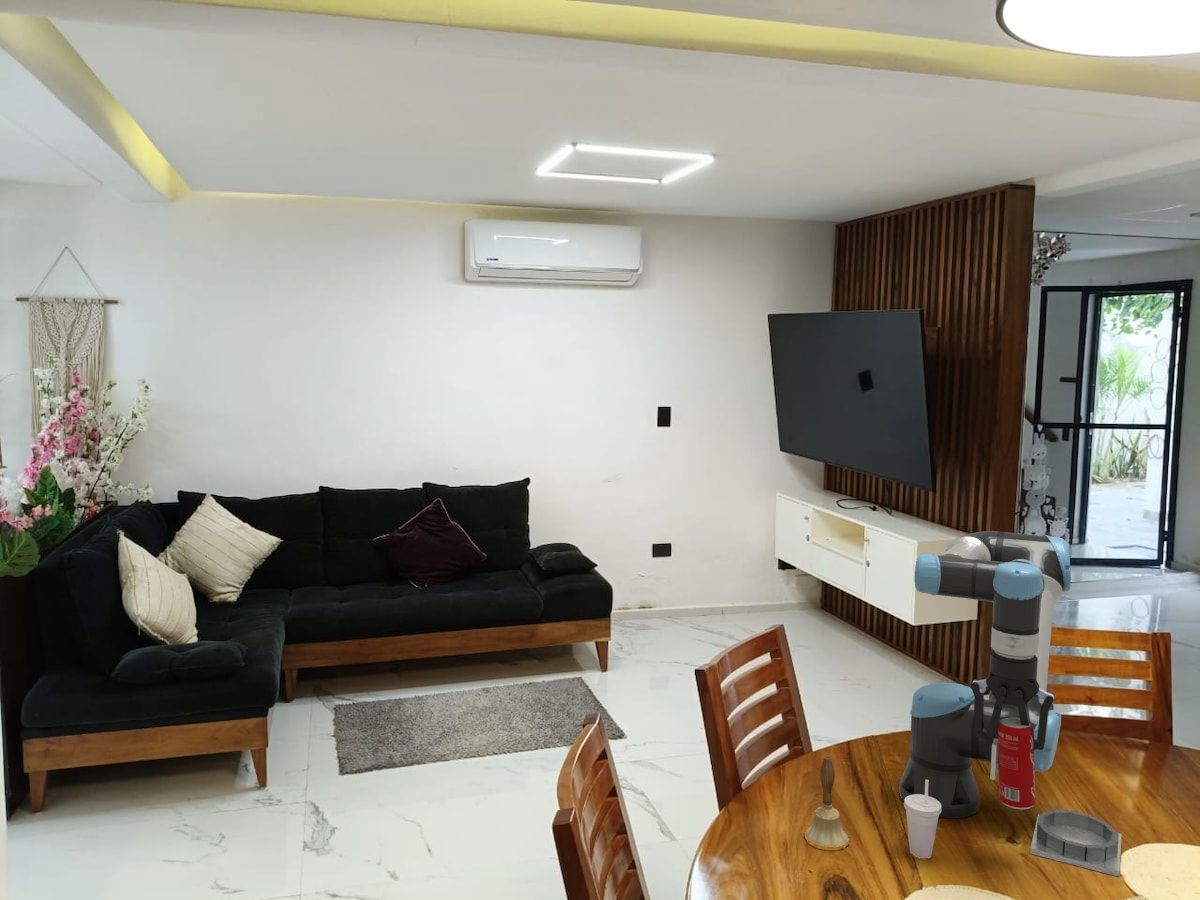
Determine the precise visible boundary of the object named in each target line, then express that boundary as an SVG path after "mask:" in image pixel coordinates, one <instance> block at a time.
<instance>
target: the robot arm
mask: <svg viewBox="0 0 1200 900" xmlns="http://www.w3.org/2000/svg"><path fill="white" fill-rule="evenodd" d="M1070 557H1071V556H1070V550H1069V545H1068V542H1067V541H1066V540H1065V539H1063V538H1061V537H1058V536H1051V535H1047V534H1043V535H1036V534H1027V533H1026V534H1025V533H1018V532H1007V531H1006V532H1005V531H998V530H997V531H995V530H987V531H986V530H985V531H977V532H972V533H968V534H964V535H960V536H959V537H956V538H955V539H953V540H952V541H950V542H949V543H948V545H947V546H946V547H945V550H944V552H943V553H942V554H940V555H939V554H935V553H932V554H928V553H927V554H925V553H923V554H920V555H918V556H917V558H916V561H915V566H914V567H915V568H914V578H913V579H914V581H913V582H914V588H915V590H916V591H917V592H918V593H920V594H928V595H931V596H944V597H951V598H959V599H960V598H961V599H968V600H976V601H983V602H991V603H992V621H991V623H992V624H991V637H990V647H991V649H992V650H991V651H990V655H989V657H990V658H989V659H990V660H989V672H988V675H987V677H986V678H985V679H977V678H975V679H973V680H972V683H971V684H970V686H969V685H968V686H967V685H965V684H962V683H954V682H935V683H930V684H927V685H924V686H921V687H919V688H918V689H916V690H915V692H914V693H913V695H912V703H911V709H910V718H911V719H910V741H909V742H910V743H909V759H908V761H907V763H906V766H905V768H904V771H903V774H902V775H901V778H900V780H899V789H898V791H899V792H898V794H899V793H900V795H901V797H902V799H903V800H904V799H905V798H906V797H907V796H909V795H913V794H921V795H925V780H929V783H928V796H930V797H932V798H935V799H936V800H938V801H939V802H940V803H941V813H940V814H939V817H938V818H943V819H944V818H945V819H960V818H961V819H962V818H967V817H970V816H973V815H974V814H975V813H977V812H978V811H979V808H980V793H979V789H978V786H977V783H976V779H975V776H974V773H973V768H972V760H973V759H974V760H977V761H983V762H989V763H990V774H989V775H990V778H989V779H990V780H993V781H995V780H996V778H997V776H998V765H999V753H998V725H999V723H1000V719H1001V718H1003V717H1007V716H1016V717H1020V722H1021V725H1025V726H1029V723H1030V722H1031V724H1032V727H1033V729H1034V760H1035V772H1042V773H1043V772H1046V771H1048V770H1049V769H1050V768H1051V767H1052V765H1053V762H1054V760H1055V759H1054V758H1055V756H1056V751H1057V747H1058V744H1059V743H1058V741H1059V735H1060V732H1061V731H1060V730H1061V724H1062V714H1061V713H1060V712H1059V711H1058V710H1054V707H1055V706H1054V699H1055V693H1054V692H1052V691H1048V692H1047V688H1048V687H1047V686H1048V677H1049V675H1048V674H1049V662H1050V650H1051V639H1052V637H1051V636H1052V627H1053V626H1052V625H1053V613H1054V603H1057V602H1058V601H1059V600H1060V599H1061V598H1062V596H1063V593H1065V592H1069V591H1070V590H1071V586H1072V585H1071V583H1072V582H1071V579H1072V578H1071V576H1072V575H1071V561H1070V560H1071V559H1070ZM987 687H988V689H989V690H990V691H989V695H988V698H987V699H986V698H985V697H984V696H985V695H984V693H985V692H986V691H987ZM1031 751H1032V749H1031ZM1031 751H1030V752H1031ZM900 795H899V796H900ZM902 799H901V800H902ZM903 800H902V801H903Z"/></svg>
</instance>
